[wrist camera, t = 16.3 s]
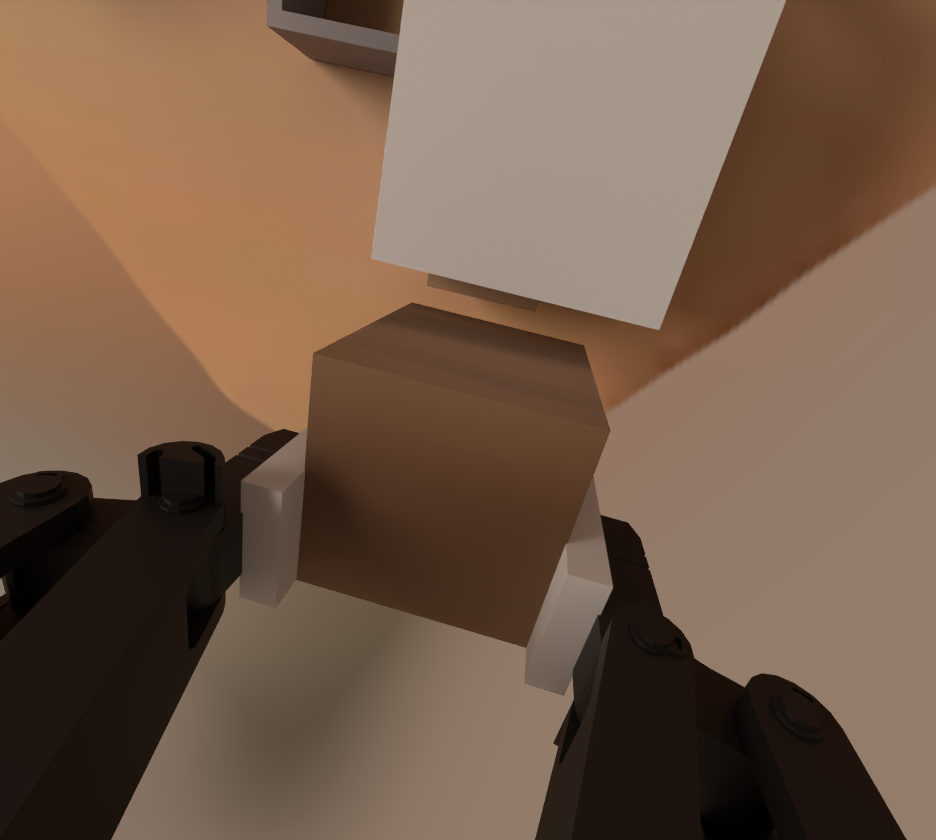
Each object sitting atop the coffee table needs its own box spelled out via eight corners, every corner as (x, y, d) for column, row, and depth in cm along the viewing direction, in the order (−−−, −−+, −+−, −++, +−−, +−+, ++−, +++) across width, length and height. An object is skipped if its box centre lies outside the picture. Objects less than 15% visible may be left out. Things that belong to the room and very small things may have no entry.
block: (411, 302, 13) (313, 353, 8) (583, 345, 13) (610, 430, 7) (387, 453, 15) (296, 579, 10) (535, 493, 15) (528, 647, 9)
